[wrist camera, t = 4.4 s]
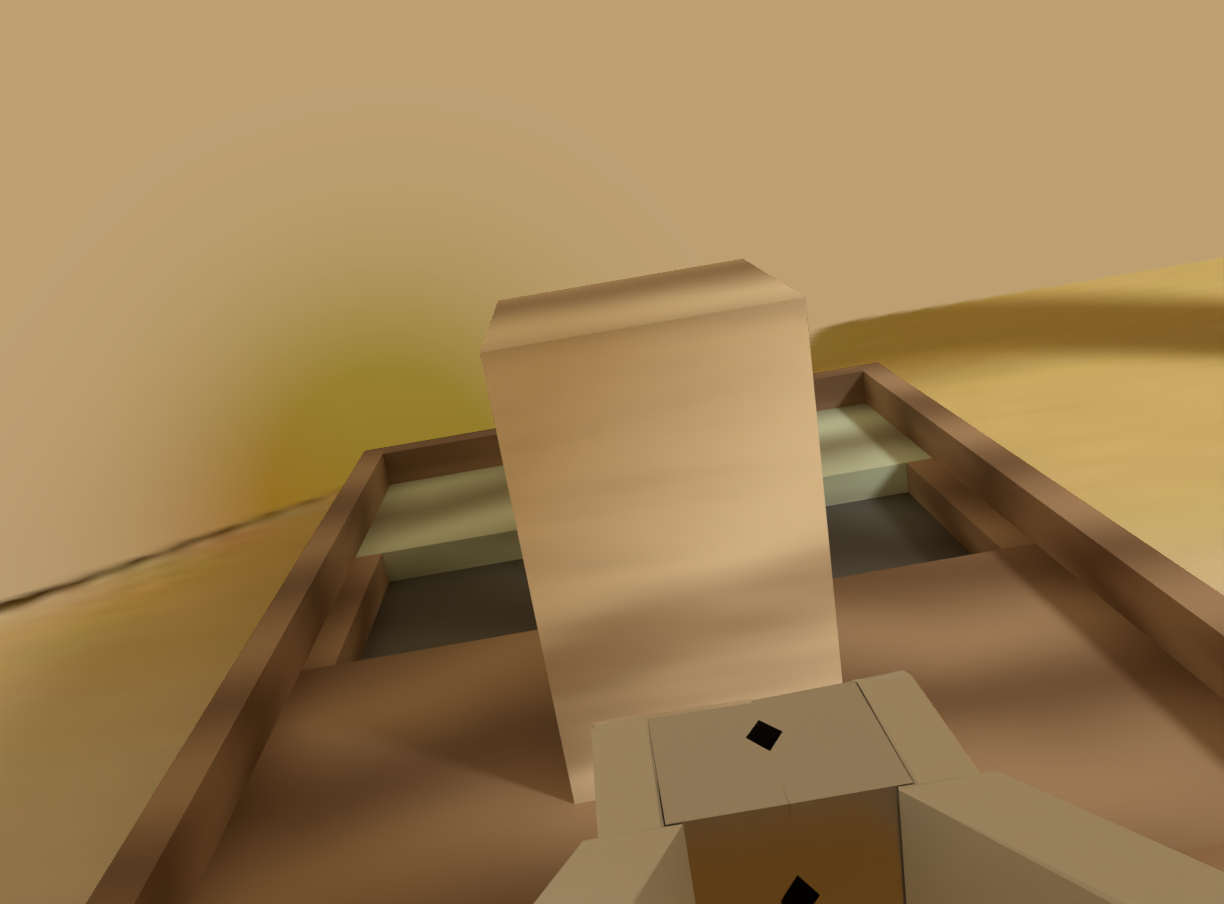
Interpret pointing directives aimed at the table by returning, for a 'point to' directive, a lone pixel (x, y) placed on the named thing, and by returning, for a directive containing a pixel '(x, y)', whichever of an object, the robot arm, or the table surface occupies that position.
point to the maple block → (665, 493)
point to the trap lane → (554, 826)
